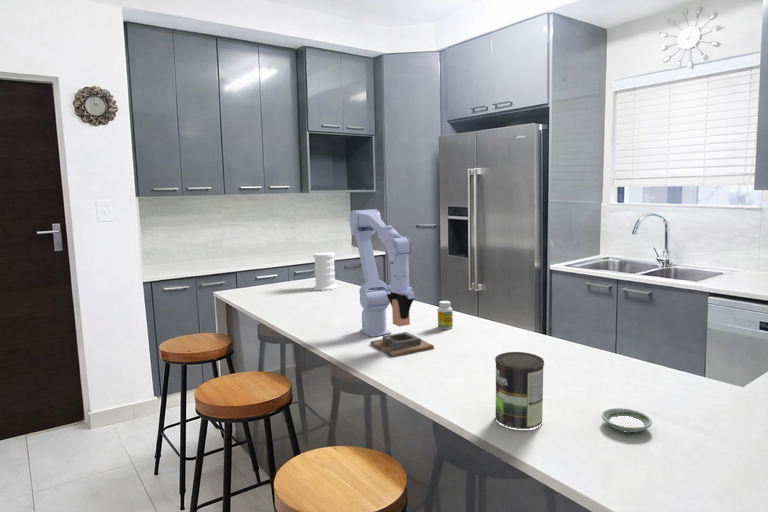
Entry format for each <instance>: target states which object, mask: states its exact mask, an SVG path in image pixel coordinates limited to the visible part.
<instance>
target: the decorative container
mask: <svg viewBox="0 0 768 512" xmlns="http://www.w3.org/2000/svg"><path fill="white" fill-rule="evenodd" d="M312 257H313V258H314V261H313V263H314V270H315V273H314V276H315V280H314V281H315V285H314V286H313V290H314V289H316V290H315V291H317V290H330V291H332V290H331V289H335V288H337V289H338V284H336V277H335V275H336V271H335V268H336V267H335V259H334V257H336V253H335V252H332V251H326V252H325V251H322V252H314V253H313V255H312ZM335 290H336V289H335Z"/></svg>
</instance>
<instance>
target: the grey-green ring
mask: <svg viewBox="0 0 768 512" xmlns="http://www.w3.org/2000/svg"><path fill="white" fill-rule="evenodd" d="M618 416H629V417H630V416H631V417H633V418H636V419H639V420H641V421H642V422H643V423H644V425H645V426H643V427H624V426H619V425H616V424H613V423H611V422H609V421H610V419H611V418H612V417H618ZM601 418H602V420H603V422H605V423H606V425H608V426H609V427H611V428H613V429H615V430H616V429H617V430H616V431H618V430H621V431H626V432H636V433H639V431H640V432H643V431H645V430H647V429H649V428H651V426H652V424H653V421H652V418H651V417H649V416H648V415H647V414H645V413H643V412H641V411H638V410H635V409H629V408H623V407H622V408H620V407H616V408H609V409H605V410H603V412H602V413H601ZM621 431H620V432H621Z"/></svg>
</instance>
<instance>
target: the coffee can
mask: <svg viewBox="0 0 768 512" xmlns="http://www.w3.org/2000/svg"><path fill="white" fill-rule="evenodd" d="M494 362H495V416H496V420H497V421H498V422H499V423H501V424H503V425H504V426H507V427H511V428H516V429H530V428H534V427H537V426H539V425H540V424H541V423H542V421H543V407H544V404H543V402H544V401H543V400H544V366H545V360H544V359H543V358H542V357H541V356H539V355H536V354H533V353H530V352H523V351H510V352H509V351H508V352H503V353H500V354H498V355H496V356H495V359H494ZM496 420H495V421H496Z"/></svg>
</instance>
